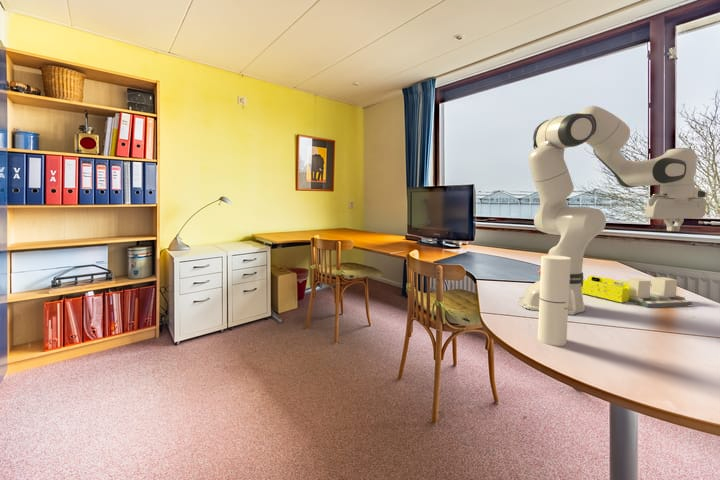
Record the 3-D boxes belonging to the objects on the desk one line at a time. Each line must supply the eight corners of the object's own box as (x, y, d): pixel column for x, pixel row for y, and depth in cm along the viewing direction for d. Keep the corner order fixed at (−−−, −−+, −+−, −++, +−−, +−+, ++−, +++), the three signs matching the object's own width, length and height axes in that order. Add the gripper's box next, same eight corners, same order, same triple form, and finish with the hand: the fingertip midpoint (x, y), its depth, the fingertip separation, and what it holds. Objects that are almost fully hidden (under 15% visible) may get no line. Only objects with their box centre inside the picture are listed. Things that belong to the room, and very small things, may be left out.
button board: (647, 307, 114) (647, 301, 114) (616, 297, 127) (617, 291, 127) (691, 305, 115) (692, 299, 115) (656, 296, 128) (657, 290, 128)
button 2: (663, 297, 120) (665, 280, 119) (648, 293, 126) (649, 276, 125) (675, 297, 120) (677, 279, 119) (659, 292, 126) (660, 276, 125)
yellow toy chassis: (629, 302, 121) (630, 282, 120) (621, 304, 119) (622, 284, 118) (586, 292, 136) (587, 274, 135) (578, 294, 134) (579, 275, 133)
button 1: (637, 298, 119) (638, 281, 118) (623, 294, 125) (624, 277, 125) (649, 298, 119) (650, 280, 119) (634, 293, 126) (635, 277, 125)
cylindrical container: (532, 336, 92) (535, 255, 90) (554, 334, 93) (558, 254, 90) (548, 346, 85) (552, 259, 83) (572, 345, 86) (577, 258, 83)
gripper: (658, 193, 108) (655, 232, 109) (712, 192, 109) (708, 230, 110) (641, 194, 114) (638, 230, 116) (692, 193, 115) (688, 229, 117)
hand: (672, 230), depth 113 cm, fingers closed
